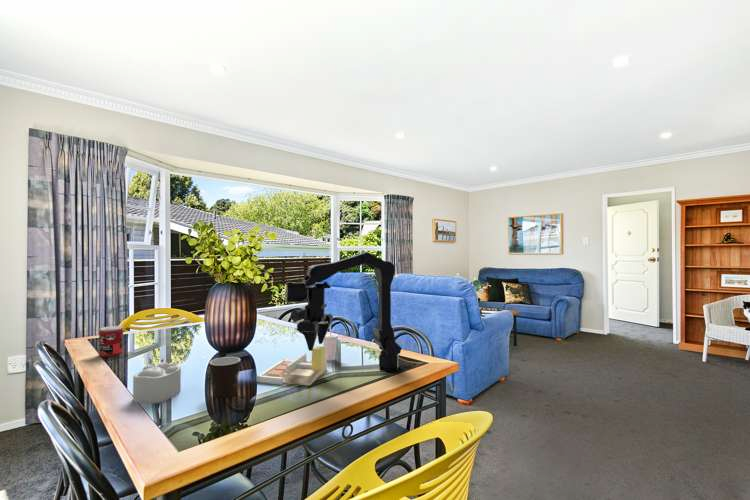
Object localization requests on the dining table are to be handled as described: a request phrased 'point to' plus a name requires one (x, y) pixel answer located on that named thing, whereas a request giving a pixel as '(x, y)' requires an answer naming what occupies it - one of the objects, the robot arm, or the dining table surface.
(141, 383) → the lumpy-topped squat cylinder
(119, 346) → the canned food
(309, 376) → the shallow cream open box
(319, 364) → the scraper
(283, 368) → the tile
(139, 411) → the dining table surface
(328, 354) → the smoothie
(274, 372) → the tile
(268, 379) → the tray
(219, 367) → the coffee mug
